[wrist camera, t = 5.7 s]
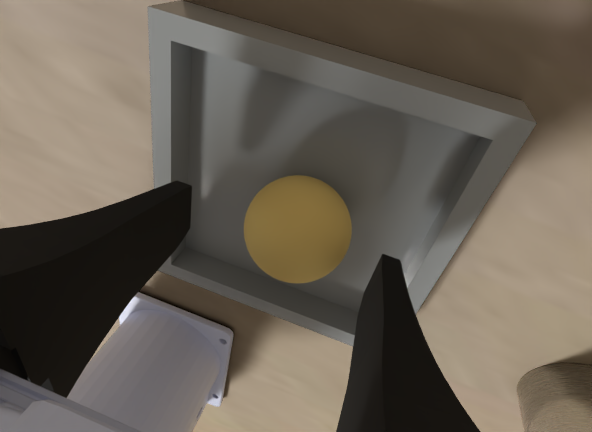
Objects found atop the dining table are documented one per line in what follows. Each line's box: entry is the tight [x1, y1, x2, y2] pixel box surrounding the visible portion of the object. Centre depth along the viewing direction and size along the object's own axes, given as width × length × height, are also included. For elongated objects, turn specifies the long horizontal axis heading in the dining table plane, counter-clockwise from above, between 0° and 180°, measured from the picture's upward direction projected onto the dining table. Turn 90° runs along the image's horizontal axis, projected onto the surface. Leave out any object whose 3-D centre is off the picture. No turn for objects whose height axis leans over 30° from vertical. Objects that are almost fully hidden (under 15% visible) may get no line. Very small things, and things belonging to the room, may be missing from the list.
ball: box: [244, 175, 352, 283], centre depth 14 cm, size 4×4×4 cm
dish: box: [148, 0, 537, 346], centre depth 16 cm, size 12×12×2 cm
